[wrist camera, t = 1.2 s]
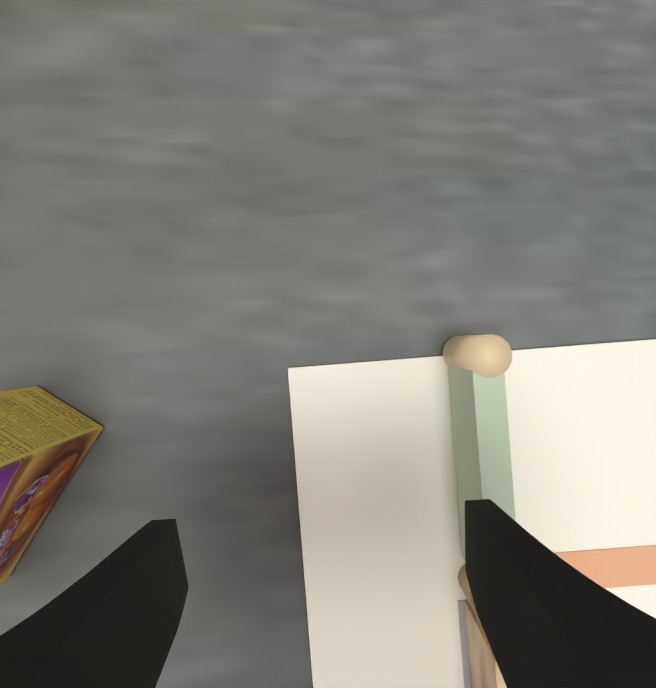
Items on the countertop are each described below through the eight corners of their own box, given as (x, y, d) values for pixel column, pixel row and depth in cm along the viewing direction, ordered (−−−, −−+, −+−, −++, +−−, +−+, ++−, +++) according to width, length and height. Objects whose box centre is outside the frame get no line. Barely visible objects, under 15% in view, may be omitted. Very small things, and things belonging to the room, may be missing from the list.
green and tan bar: (492, 554, 23) (531, 605, 18) (458, 557, 23) (488, 609, 18) (475, 334, 23) (510, 332, 18) (441, 337, 23) (467, 336, 18)
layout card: (743, 814, 24) (752, 825, 23) (326, 844, 24) (326, 854, 23) (708, 334, 23) (716, 334, 23) (288, 367, 24) (287, 368, 23)
